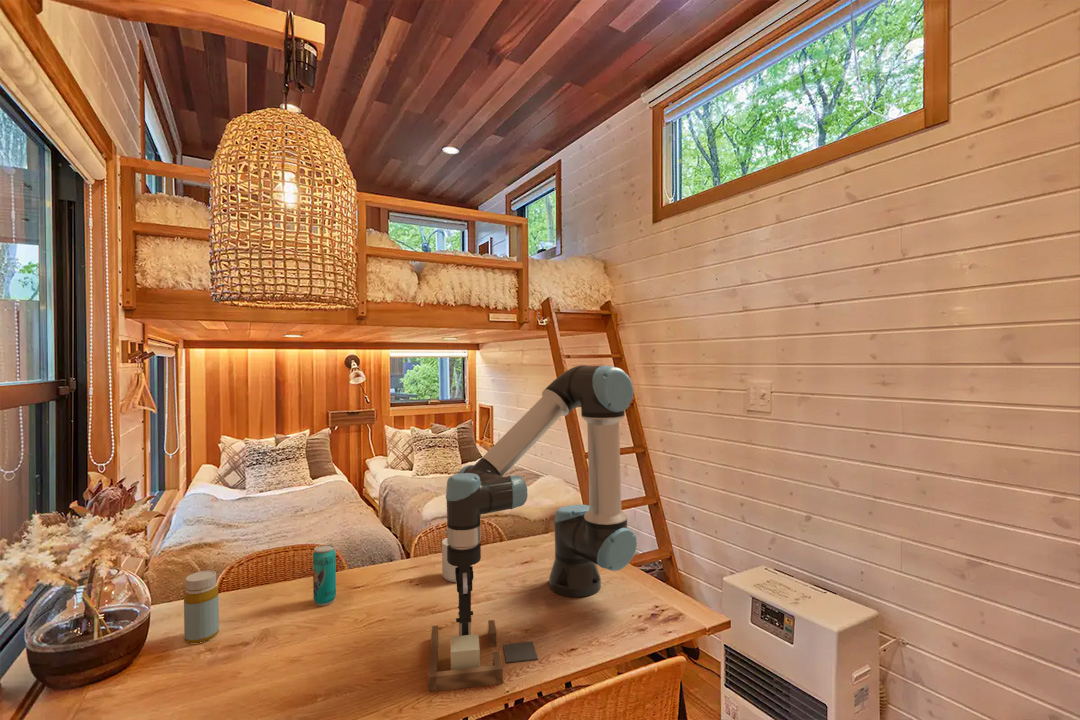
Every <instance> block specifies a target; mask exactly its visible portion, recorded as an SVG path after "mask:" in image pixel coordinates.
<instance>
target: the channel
mask: <svg viewBox="0 0 1080 720" xmlns="http://www.w3.org/2000/svg"><path fill="white" fill-rule="evenodd" d="M495 621H496V620H495V619H489V620H488V621H487V627H488V628H487V629H488V631H487V632H488V640H489V646H490V647H496V646H497V645H498V644H497V643H498V641H497V639H498V635H497V627H496V622H495ZM429 652H430V653H429V667H428V693H432V692H440V691H447V690H448V691H449V690H455V689H456V690H459V689H465V688H474V687H481V686H492V685H499V684H501V685H502V684H504V670H503V669H504V668H503V667H504V666H503V663H502V662H503V661H502V656H501V651H500V650H498V651H493V652H492V665H488V666H487V665H486V666H485V665H484V666H480V667H476V668H467V669H458V670H451V669H450V670H444V671H443V670H441V671H438V659H439V656H438V655H439V653H438V652H439V625H431V634H430V651H429Z"/></svg>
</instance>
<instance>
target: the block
mask: <svg viewBox="0 0 1080 720" xmlns="http://www.w3.org/2000/svg"><path fill="white" fill-rule="evenodd" d="M480 656H481V655H480V640H479V634H478V633H477V634H476V633H475V634H471V635H464V636H459V635H456V636H450V670H458V669H467V668H476V667H481V664H480V658H481V657H480Z"/></svg>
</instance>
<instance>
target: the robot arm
mask: <svg viewBox="0 0 1080 720" xmlns="http://www.w3.org/2000/svg"><path fill="white" fill-rule="evenodd" d="M633 398H634V386H633V382H632V380H631V378H630V376H629V375H628V374H627V373H626V372H625V371H624V370H623V369H621V368H619V367H616V366H611V365H582V364H581V365H576V366H573V367H571V368H568V369H567V370H566V371H564V372H563V373H561V374H560V375H559V376H557V378H555V379H554V380H553V381H551V383H550V384H549V385H547V387H546V388H545V389H543V390H542V393H541V398H539V400H537V402H536V403H535V404H534V405H533V406H532V407H531V408H530V409H529V410H528V411H527V412H525V414H524V415H523V416H522V417H521V418H520V419H519V420H518V421H517V422H516V423H515V424H514V425H512V426H511V428H510V429H508V431H507V432H506V433H505V434H504V435H503V436H501V438H500V439H499V440H498V441H497V442H496V443H495V444H494V445H493V446H492V447H491V448H490V449H489V450H488V451H487V452H486V453H484V455H482V456H481V458H480V459H479V460H478V461H477V462H476V463H475V464H469V465H465V466H463V467H462V468H461V469H460V470H459V471H458V473H455V474H453V475H450V476H449V477H448V478H447V482H446V489H445V490H446V492H445V493H446V494H445V500H446V530H445V529H444V532H443V533H444V534H445V535H447V536H446V538H447V543H448V544H449V545H448V546H447V561H448V563H449V564H451V565H453V566H457V567H456V568H455V575H456V581H457V582H456V592H457V593H458V606H457V608H458V612H457V613H458V616H459V617H457V618H455V623H458V636H464V635H472V616H473V615H474V611H473V610H472V591H473V581H474V569H473V566H474V565H476V564H478V563H479V562H480V561H481V560H482V559H481V558H482V557H481V556H482V551H481V550H482V549H481V547H482V546H481V540H482V527H481V526H482V525H481V515H485V514H492V513H496V512H502V511H506V510H507V511H508V510H513V509H515V508H519V507H522V506H524V505H525V504H526V502H527V500H528V486H527V482H526V481H525V479H524V478H523V477H522V476H520V475H507V476H505V475H506V474H507V473H508V472H509V471H510V470H511V469H512V468H513V467H514V466H515V465H516V464H517V462H519V461H520V459H522V458H523V456H525V454H526V453H527V452H528V451H529V450H531V448H532V447H533V446H535V444H536V443H537V442H538V441H539V440H540V439H541V438H542V436H544V434H545V433H546V432H548V430H549V429H550V428H551V427H552V426H553V425H555V423H556V422H557V421H558V420H559V419H560V418H561V417H566V416H568V415H569V413H570V412H572V411H573V410H575V409H576V408H581V409H580V410H581V411H580V412H581V413H580V415H581V418H583V420H584V421H585V422H586V425H587V429H586V430H587V459H588V461H587V462H588V464H587V466H588V498H589V501H588V503H589V505H588V504H572V505H565V506H561V507H559V508H558V509H556V511H555V513H554V521H553V523H554V561H553V565H552V568H551V571H550V574H549V578H548V579H549V581H548V583H549V585H548V586H549V588H550V589H551V590H552V592H554V593H556V594H559V595H561V596H564V597H572V598H580V597H588V596H591V595H593V594H596V593H598V592H599V591H600V590H601V587H602V578H601V574H600V572H599V569H598V566H599V567H600V568H601V569H606V570H609V571H611V572H616V571H617V572H618V571H621V570H622V569H624V568H626V567H627V566H628V565H629V563H630V562H631V561H632V559H633V558H634V556H635V554H636V551H637V545H638V542H637V536H636V534H635V533H634V532H633V531H632V530H631V529H630V528H628V516H627V514H626V513H625V512H624V511H623V510H622V491H621V490H622V489H621V487H622V483H621V480H622V479H621V477H622V476H621V446H620V445H621V443H620V436H621V435H620V422H621V421H622V420H623V419H624V417H625V416H626V414H625V413H626V412H625V411H626V410H627V409H628V408H629V407H630V406H631V402H633ZM471 565H472V566H471Z"/></svg>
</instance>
